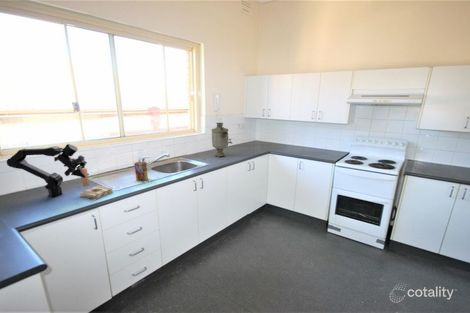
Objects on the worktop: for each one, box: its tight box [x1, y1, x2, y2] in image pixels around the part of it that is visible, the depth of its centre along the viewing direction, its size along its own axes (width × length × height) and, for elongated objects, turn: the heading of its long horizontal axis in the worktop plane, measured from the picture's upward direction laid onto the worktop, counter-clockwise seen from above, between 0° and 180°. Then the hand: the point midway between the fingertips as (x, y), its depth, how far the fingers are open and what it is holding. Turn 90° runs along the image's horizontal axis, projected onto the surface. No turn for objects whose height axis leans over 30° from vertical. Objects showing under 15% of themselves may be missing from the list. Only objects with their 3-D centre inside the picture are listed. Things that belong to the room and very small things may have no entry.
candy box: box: [134, 160, 149, 181], centre depth 193 cm, size 9×4×15 cm, turn 104°
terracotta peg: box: [80, 167, 90, 187], centre depth 160 cm, size 4×4×12 cm
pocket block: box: [79, 185, 114, 200], centre depth 164 cm, size 14×14×3 cm
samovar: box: [211, 122, 233, 159], centre depth 274 cm, size 30×26×40 cm
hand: (86, 176), depth 160 cm, fingers closed on terracotta peg, 4 cm apart
